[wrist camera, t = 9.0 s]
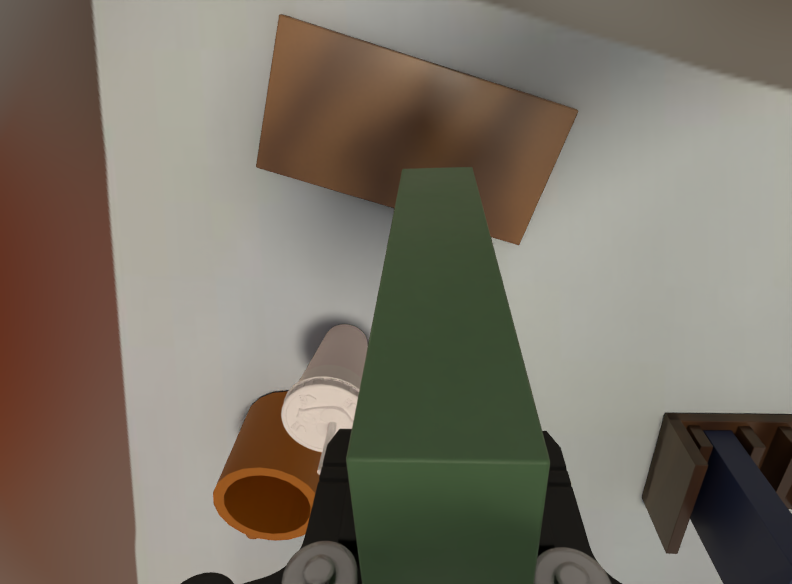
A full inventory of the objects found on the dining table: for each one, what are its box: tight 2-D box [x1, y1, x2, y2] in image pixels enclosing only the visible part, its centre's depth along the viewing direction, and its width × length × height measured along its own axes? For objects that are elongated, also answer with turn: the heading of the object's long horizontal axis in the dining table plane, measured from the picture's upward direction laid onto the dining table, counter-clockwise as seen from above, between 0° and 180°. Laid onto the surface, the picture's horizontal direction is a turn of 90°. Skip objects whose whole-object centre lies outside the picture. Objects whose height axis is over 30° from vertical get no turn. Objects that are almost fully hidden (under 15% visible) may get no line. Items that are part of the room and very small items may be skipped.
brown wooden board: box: [256, 14, 578, 245], centre depth 35 cm, size 20×10×1 cm, turn 74°
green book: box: [346, 167, 550, 584], centre depth 14 cm, size 2×9×13 cm, turn 3°
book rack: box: [642, 413, 792, 554], centre depth 45 cm, size 16×11×6 cm
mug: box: [213, 392, 322, 540], centre depth 46 cm, size 9×12×9 cm
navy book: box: [690, 430, 792, 584], centre depth 41 cm, size 2×9×13 cm, turn 2°
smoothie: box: [281, 324, 368, 475], centre depth 38 cm, size 6×6×14 cm
